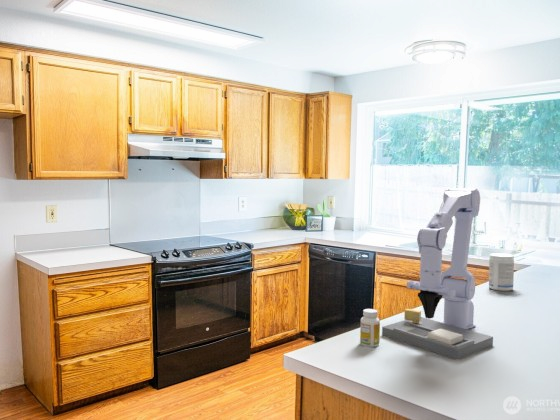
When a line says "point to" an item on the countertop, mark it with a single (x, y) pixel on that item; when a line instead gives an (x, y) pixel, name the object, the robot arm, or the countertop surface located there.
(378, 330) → the supplement bottle
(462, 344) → the grey slotted tray
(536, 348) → the countertop surface
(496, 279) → the supplement tub
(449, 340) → the cover
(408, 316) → the gold metal block
